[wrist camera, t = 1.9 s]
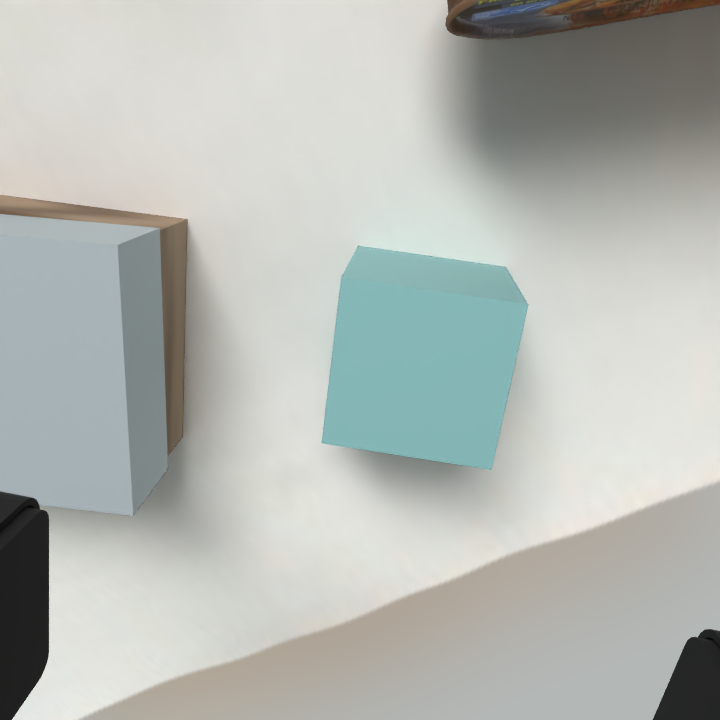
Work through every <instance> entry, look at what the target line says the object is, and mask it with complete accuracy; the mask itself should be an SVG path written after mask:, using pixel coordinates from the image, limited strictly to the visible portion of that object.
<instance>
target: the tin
mask: <svg viewBox="0 0 720 720" xmlns="http://www.w3.org/2000/svg"><path fill="white" fill-rule="evenodd" d="M447 1H448V16H447V18H446V27H447V30H448V31H449V32H450V33H452V34H454V35H457V36H463V37H468V38H477V39H509V38H520V37H529V36H535V35H542V34H549V33H556V32H562V31H568V30H574V29H580V28H584V27H591V26H596V25H603V24H608V23H613V22H619V21H625V20H631V19H636V18H641V17H648V16H653V15H659V14H664V13H670V12H676V11H682V10H687V9H693V8H699V7H705V6H711V5H717V4H720V0H447Z"/></svg>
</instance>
